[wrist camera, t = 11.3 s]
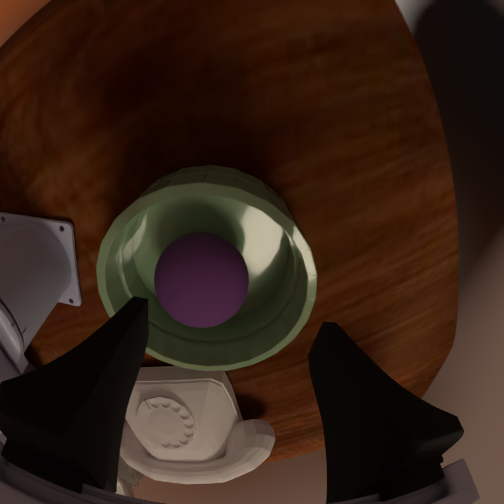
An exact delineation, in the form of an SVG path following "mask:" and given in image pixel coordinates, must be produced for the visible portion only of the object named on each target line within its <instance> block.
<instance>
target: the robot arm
mask: <svg viewBox="0 0 504 504" xmlns="http://www.w3.org/2000/svg"><path fill="white" fill-rule="evenodd" d="M4 218H5V219H4ZM61 226H63V227H64V230H63V229H62V227H61ZM71 299H72V300H71ZM57 302H62V303H66V304H70V305H74V306H80V304H81V303H82V299H81V293H80V286H79V279H78V271H77V262H76V252H75V240H74V228H73V225H72V224H71V223H70V222H66V221H59V220H52V219H45V218H39V217H32V216H25V215H18V214H11V213H4V212H0V434H1V433H3V435H4V436H5V437H6V438H7V440H6V442H5V445H4V444H3V443H2V442H1V441H0V504H164V503H158V502H152V501H147V500H142V499H137V498H133V497H129V496H124V495H120V494H117V493H116V492H117V476H118V464H119V455H120V447H121V440H122V434H123V428H124V422H125V417H126V412H127V407H128V403H129V400H130V397H131V394H132V391H133V388H134V385H135V382H136V379H137V376H138V373H139V370H140V367H141V364H142V362H143V359H144V355H145V351H146V346H147V342H148V337H149V325H148V299H147V298H141V297H136V296H133V297H132V298H131V299H130V300H129V301H128V302H127V303H126V304H125V305H124V306H123V307H122V308H121V309H120V310H119V311H118V312H117V313H115V314H114V315H113V316H112V317H111V318H110V319H109V320H108V321H107V322H106V323H105V324H104V325H102V326H101V327H100V328H99V329H98V330H97V331H95V332H94V333H93V334H92V335H91V336H89V337H88V338H87V339H86V340H84V341H83V342H82V343H80V344H79V345H78V346H76V347H75V348H73V349H72V350H70V351H69V352H67V353H66V354H64V355H62V356H61V357H59V358H57V359H55V360H53V361H52V362H50V363H48V364H46V365H44V366H42V367H40V368H38V369H35V370H33V371H31V372H28V373H26V374H22V373H23V372H24V370H25V368H26V366H27V364H28V361H27V360H26V358H25V356H24V352H25V350H26V349H27V347H28V345H29V344H30V342H31V341H32V339H33V338H34V336H35V334H36V333H37V331H38V330H39V328H40V327H41V325H42V324H43V322H44V321H45V319H46V318H47V316H48V315H49V314H50V312H51V311H52V309H53V308H54V306H55V305H56V304H57ZM308 359H309V368H310V376H311V380H312V384H313V388H314V391H315V395H316V399H317V403H318V407H319V410H320V414H321V418H322V423H323V430H324V438H325V448H326V460H327V500H326V504H473V503H475V502H476V501H478V500H479V499H480V497H479V494H478V491H477V489H476V486H475V484H474V481H473V479H472V476H471V474H470V471H469V469H468V467H467V464H466V462H465V460H464V459H461V460H458V461H456V462H454V463H452V464H450V465H447V466H445V467H444V468H441V465H440V463H442V462H443V457H442V454H443V453H444V452H446V451H447V450H448V449H449V448H451V447H452V446H453V445H454V444H455V443H456V442H457V441H458V440H459V439H460V438H461V437H462V436H463V433H464V430H463V428H462V426H461V424H460V421H459V419H458V417H457V416H455V415H453V414H450V413H448V412H445V411H443V410H441V409H439V408H436V407H435V406H432V405H430V404H429V403H427V402H425V401H423V400H422V399H420V398H418V397H417V396H415V395H414V394H412V393H411V392H409V391H408V390H406V389H405V388H403V387H402V386H401V385H399V384H398V383H397V382H396V381H394V380H393V379H392V378H391V377H389V376H388V375H387V374H386V373H385V372H384V371H383V370H382V369H380V368H379V367H378V366H377V365H376V364H375V363H374V362H373V361H372V360H371V359H370V358H369V357H368V356H367V355H366V354H365V353H364V352H363V351H362V350H361V349H360V348H359V346H358V345H357V344H356V343H355V342H354V341H353V340H352V339H351V338H350V337H349V336H348V335H347V333H346V332H345V331H344V330H343V329H342V328H341V327H340V326H339V325H338V324H337V323H333V322H323V323H322V325H321V328H320V330H319V332H318V335H317V337H316V339H315V341H314V343H313V346H312V348H311V350H310V352H309V354H308Z"/></svg>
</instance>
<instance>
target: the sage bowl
mask: <svg viewBox="0 0 504 504" xmlns="http://www.w3.org/2000/svg"><path fill="white" fill-rule="evenodd" d="M196 232H205V233H211V234H215V235H218V236H221V237H223V238H225V239H226V240H228V241H229V242H231V243H232V244H233V245H234V246H235V247H236V248H237V249H238V251H239V252H240V253H241V255H242V256H243V258H244V260H245V263H246V266H247V269H248V274H249V286H248V292H247V295H246V298H245V300H244V302H243V304H242V306H241V307H240V309H239V310H238V311H237V312H236V314H235V315H233V316H232V317H231V318H230V319H228V320H227V321H225V322H223V323H221V324H219V325H216V326H213V327H206V328H197V327H191V326H187V325H185V324H182V323H180V322H178V321H177V320H175V319H174V318H172V317H171V316H170V315H169V314H168V313H167V312H166V311H165V310H164V308H163V307H162V305H161V304H160V302H159V300H158V298H157V295H156V292H155V287H154V273H155V268H156V264H157V262H158V260H159V257H160V256H161V254H162V252H163V251H164V250H165V249H166V247H167V246H168V245H169V244H171V243H172V242H173V241H175V240H176V239H178V238H179V237H182V236H184V235H187V234H191V233H196ZM96 272H97V283H98V291H99V294H100V297H101V299H102V302H103V304H104V307H105V309H106V312H107V313H108V315H109V317H110V318H111V317H112V316H113V315H114V314H115V313H117V312H118V311H119V310H120V309H121V308H122V307H123V306H124V305H125V304H126V303H127V302H128V301H129V300H130V299H131V298H132V297H133V296H136V297H141V298H147V299H148V325H149V337H148V342H147V346H146V351H145V352H146V353H148V354H149V355H151V356H153V357H155V358H157V359H158V360H161V361H163V362H166V363H169V364H172V365H175V366H178V367H181V368H186V369H193V370H201V371H222V370H233V369H237V368H241V367H245V366H249V365H253V364H255V363H258V362H260V361H262V360H264V359H266V358H268V357H270V356H272V355H274V354H276V353H277V352H278V351H280V350H281V349H282V348H283V347H285V346H286V345H287V344H288V343H290V342H291V341H292V340H293V339H294V338H295V337H296V336H297V334H298V333H299V332H300V330H301V329H302V328H303V326H304V325H305V324H306V322H307V320H308V318H309V315H310V313H311V310H312V308H313V305H314V302H315V300H316V299H315V298H316V290H317V270H316V266H315V263H314V259H313V255H312V251H311V248H310V246H309V244H308V242H307V240H306V238H305V237H304V235H303V233H302V231H301V229H300V227H299V225H298V223H297V222H296V220H295V218H294V216H293V215H292V213H291V211H290V210H289V208H288V207H287V205H286V204H285V202H284V201H283V199H282V198H281V197H280V196H279V195H278V194H277V193H276V192H275V191H273V190H272V189H271V188H270V187H269V186H268V185H266V184H265V183H264V182H263V181H261V180H260V179H257V178H255V177H253V176H251V175H249V174H247V173H244V172H242V171H240V170H237V169H234V168H228V167H221V166H215V165H204V166H196V167H187V168H183V169H180V170H177V171H175V172H172V173H170V174H168V175H165V176H163V177H161V178H159V179H158V180H156V181H155V182H154V183H153V184H151V185H150V186H149V187H148V188H147V189H145V190H144V191H143V192H142V193H141V194H140V195H139V196H137V197H136V198H135V199H134V200H133V201H132V202H131V203H130V204H129V205H128V206H127V207H126V208H125V209H124V210H123V211H122V212H121V213H120V214H119V215H118V216H117V217H116V219H115V220H114V221H113V223H112V225H111V226H110V228H109V230H108V231H107V233H106V235H105V237H104V238H103V240H102V242H101V246H100V250H99V255H98V260H97V265H96Z"/></svg>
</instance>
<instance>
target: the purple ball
mask: <svg viewBox="0 0 504 504" xmlns="http://www.w3.org/2000/svg"><path fill="white" fill-rule="evenodd" d="M248 286H249V274H248V269H247V266H246V263H245V260H244V258H243V256H242V255H241V253H240V252H239V251H238V249H237V248H236V247H235V246H234V245H233V244H232V243H231V242H229V241H228V240H226V239H225V238H223V237H221V236H218V235H215V234H211V233H205V232H196V233H191V234H187V235H184V236H182V237H179V238H178V239H176V240H175V241H173V242H172V243H171V244H169V245H168V246H167V247H166V249H165V250H164V251H163V252H162V254H161V256H160V257H159V260H158V262H157V264H156V268H155V273H154V287H155V292H156V295H157V298H158V300H159V302H160V304H161V305H162V307H163V308H164V310H165V311H166V312H167V313H168V314H169V315H170V316H171V317H172V318H174V319H175V320H177V321H178V322H180V323H182V324H185V325H187V326H191V327H197V328H206V327H213V326H216V325H219V324H221V323H223V322H225V321H227V320H228V319H230V318H231V317H232V316H233V315H235V314H236V312H237V311H238V310H239V309H240V307H241V306H242V304H243V302H244V300H245V298H246V295H247V292H248Z"/></svg>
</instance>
